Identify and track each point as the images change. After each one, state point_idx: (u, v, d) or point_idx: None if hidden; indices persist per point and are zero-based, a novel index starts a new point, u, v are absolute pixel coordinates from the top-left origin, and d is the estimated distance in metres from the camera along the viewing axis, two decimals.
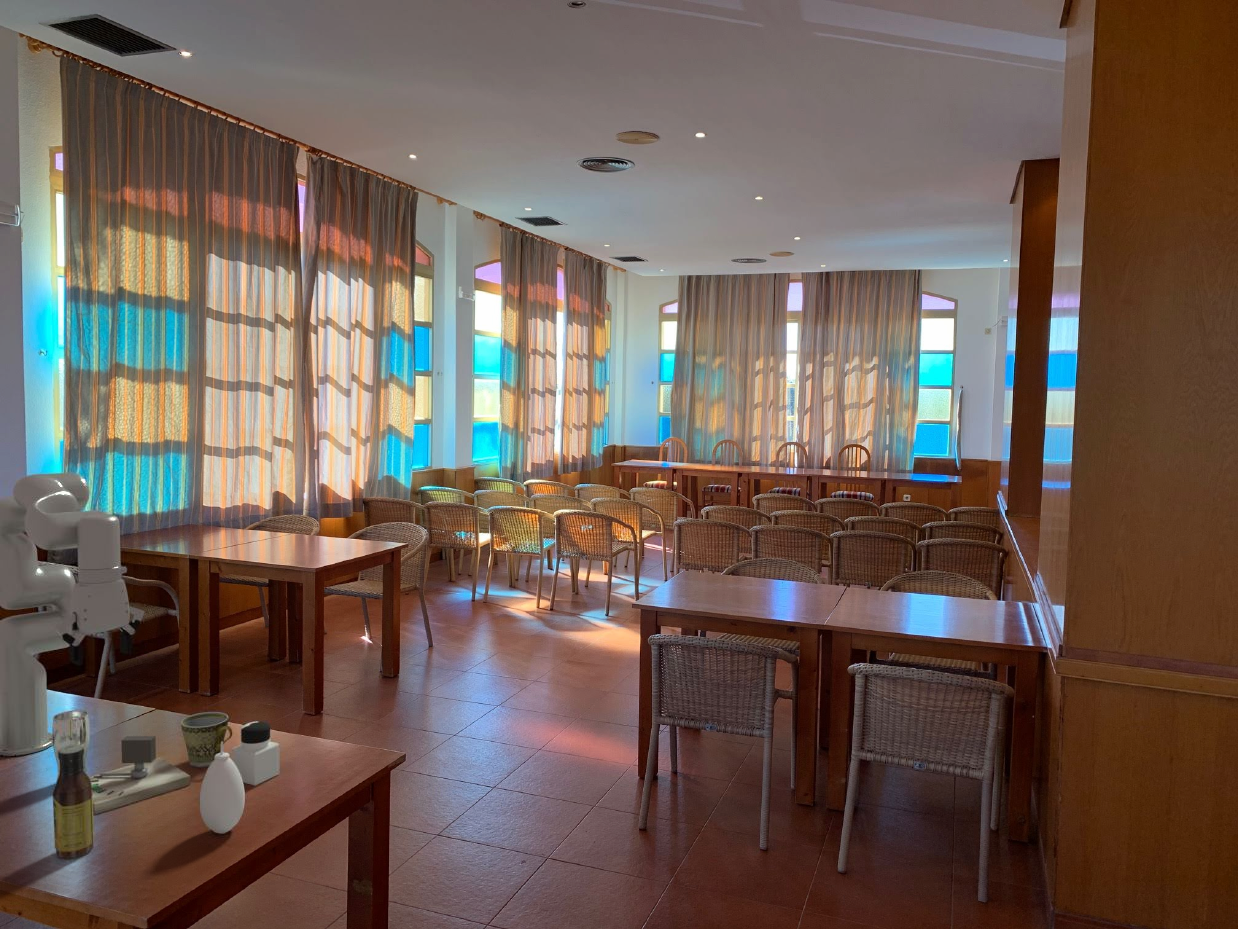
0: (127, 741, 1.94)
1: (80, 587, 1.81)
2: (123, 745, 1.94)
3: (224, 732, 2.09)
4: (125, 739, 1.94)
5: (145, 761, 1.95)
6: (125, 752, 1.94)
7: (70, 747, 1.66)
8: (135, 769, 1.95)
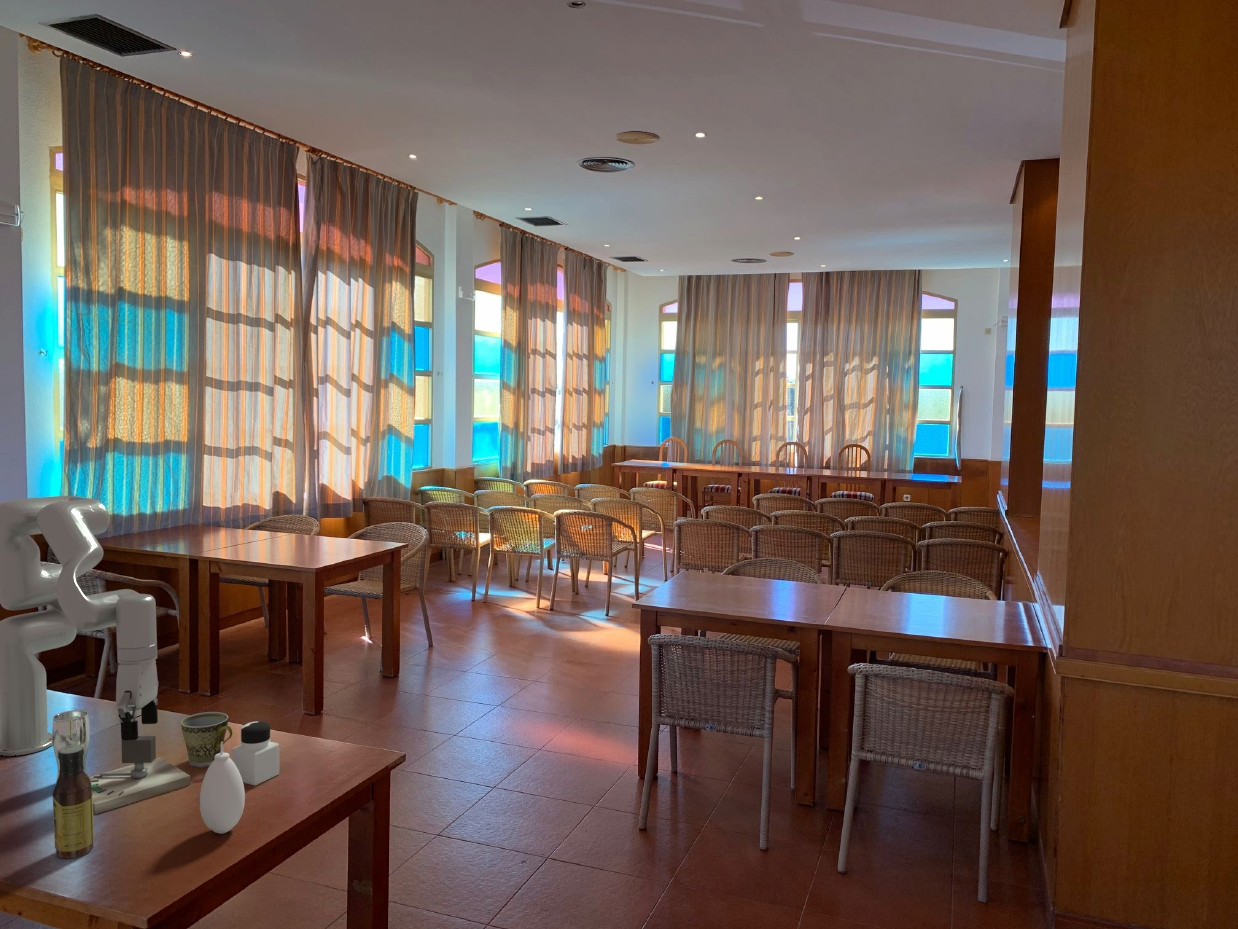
0: (127, 741, 1.94)
1: (133, 666, 1.90)
2: (123, 745, 1.94)
3: (224, 732, 2.09)
4: None
5: (145, 761, 1.95)
6: (125, 752, 1.94)
7: (70, 747, 1.66)
8: (135, 769, 1.95)
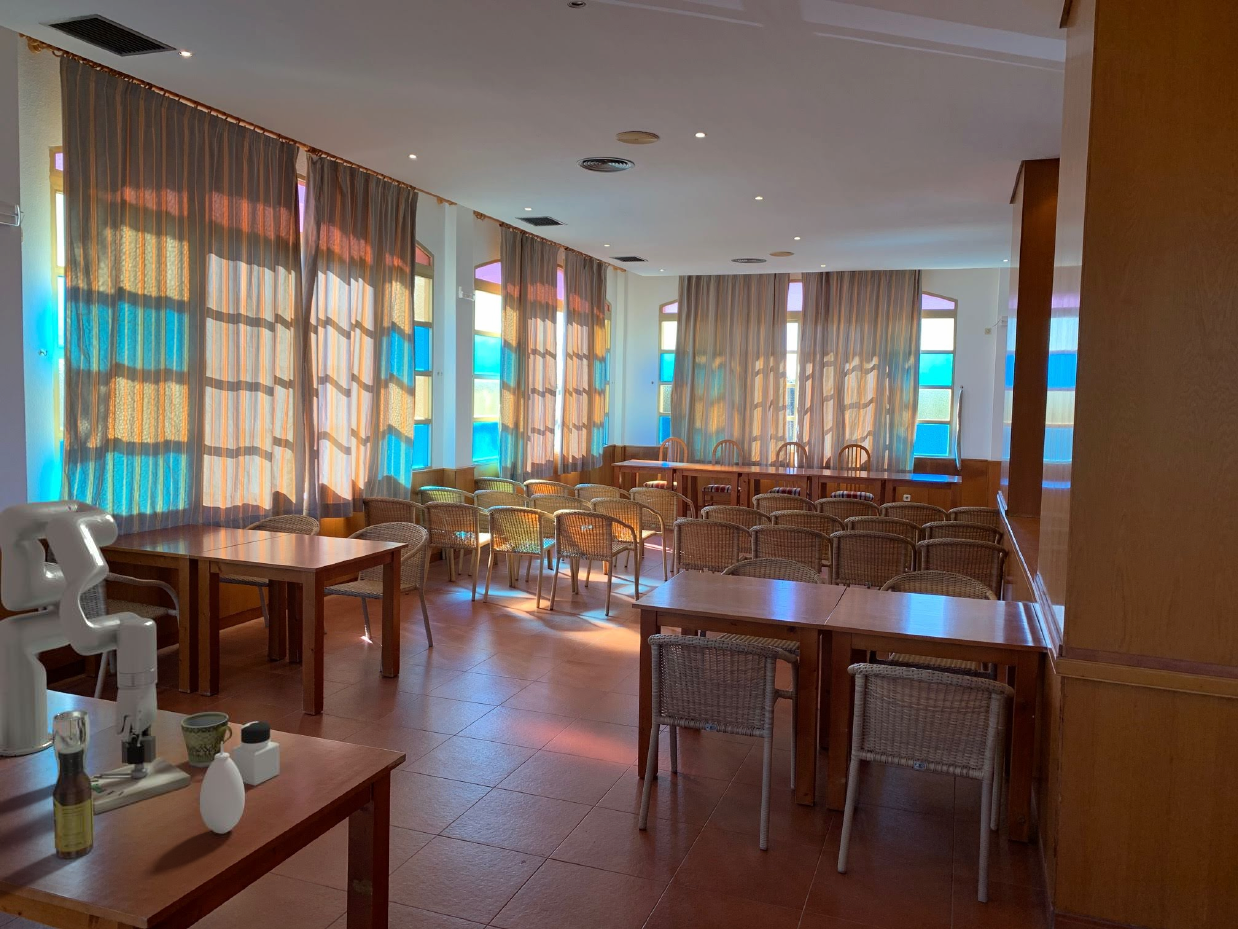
0: None
1: (133, 690, 1.90)
2: (123, 745, 1.94)
3: (224, 732, 2.09)
4: None
5: (145, 761, 1.95)
6: (125, 752, 1.94)
7: (70, 747, 1.66)
8: (135, 769, 1.95)
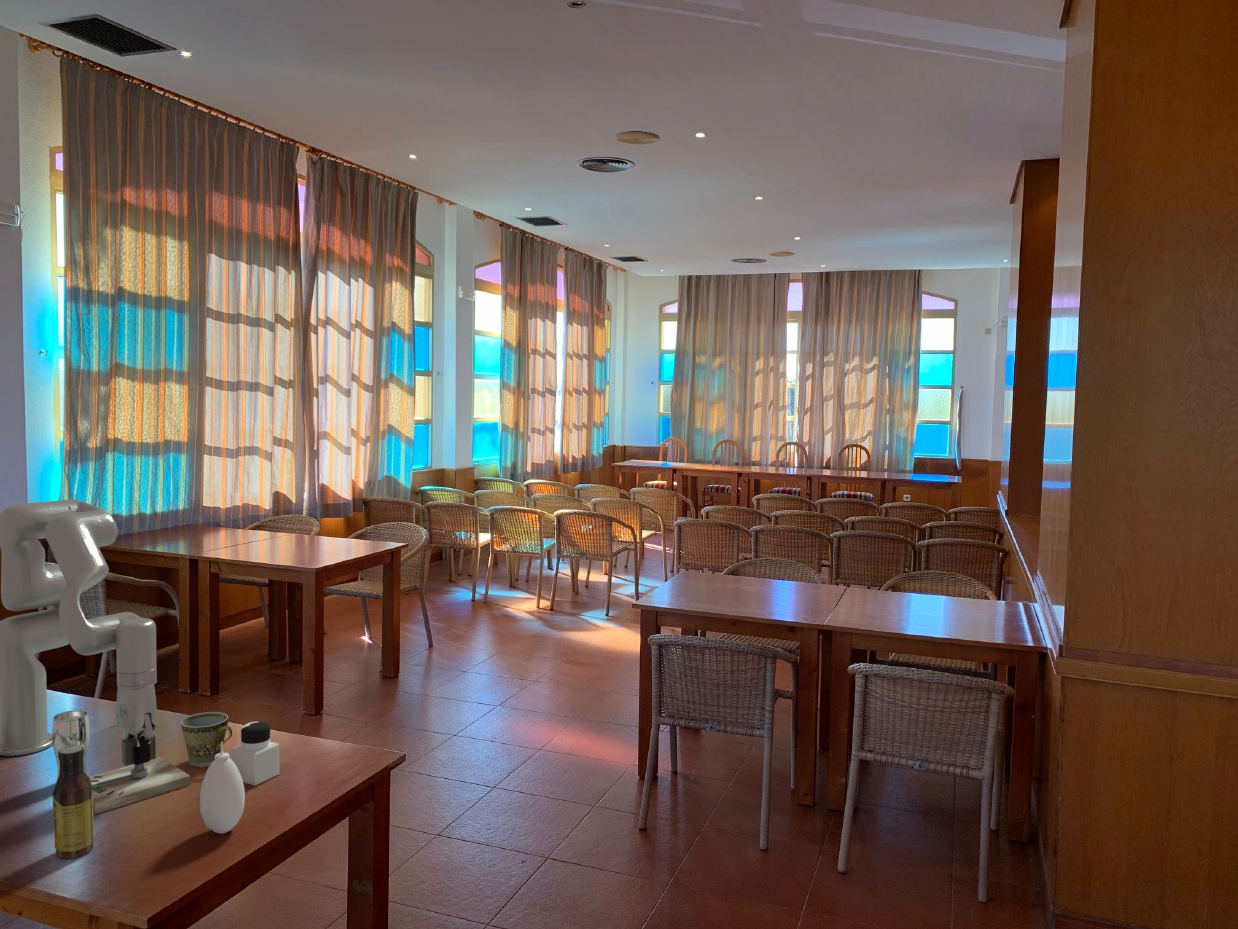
0: (131, 742, 1.93)
1: (150, 687, 1.92)
2: (126, 747, 1.93)
3: (224, 732, 2.09)
4: (127, 741, 1.93)
5: (150, 758, 1.96)
6: (129, 754, 1.93)
7: (70, 747, 1.66)
8: (137, 769, 1.95)
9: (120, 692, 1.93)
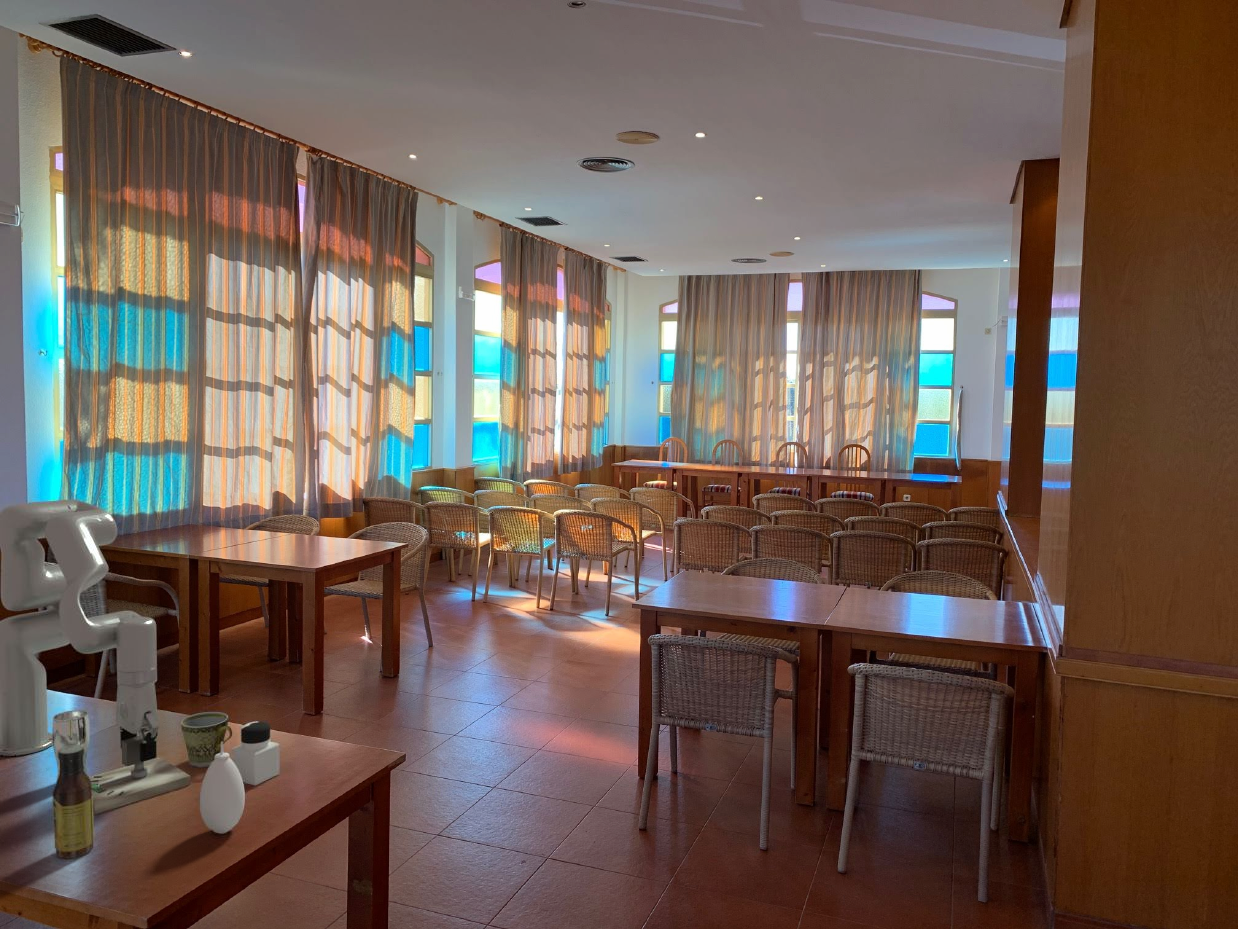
0: (132, 743, 1.93)
1: (150, 686, 1.92)
2: (128, 748, 1.92)
3: (224, 732, 2.09)
4: (128, 742, 1.93)
5: None
6: (130, 754, 1.93)
7: (70, 747, 1.66)
8: (138, 769, 1.95)
9: (120, 690, 1.94)
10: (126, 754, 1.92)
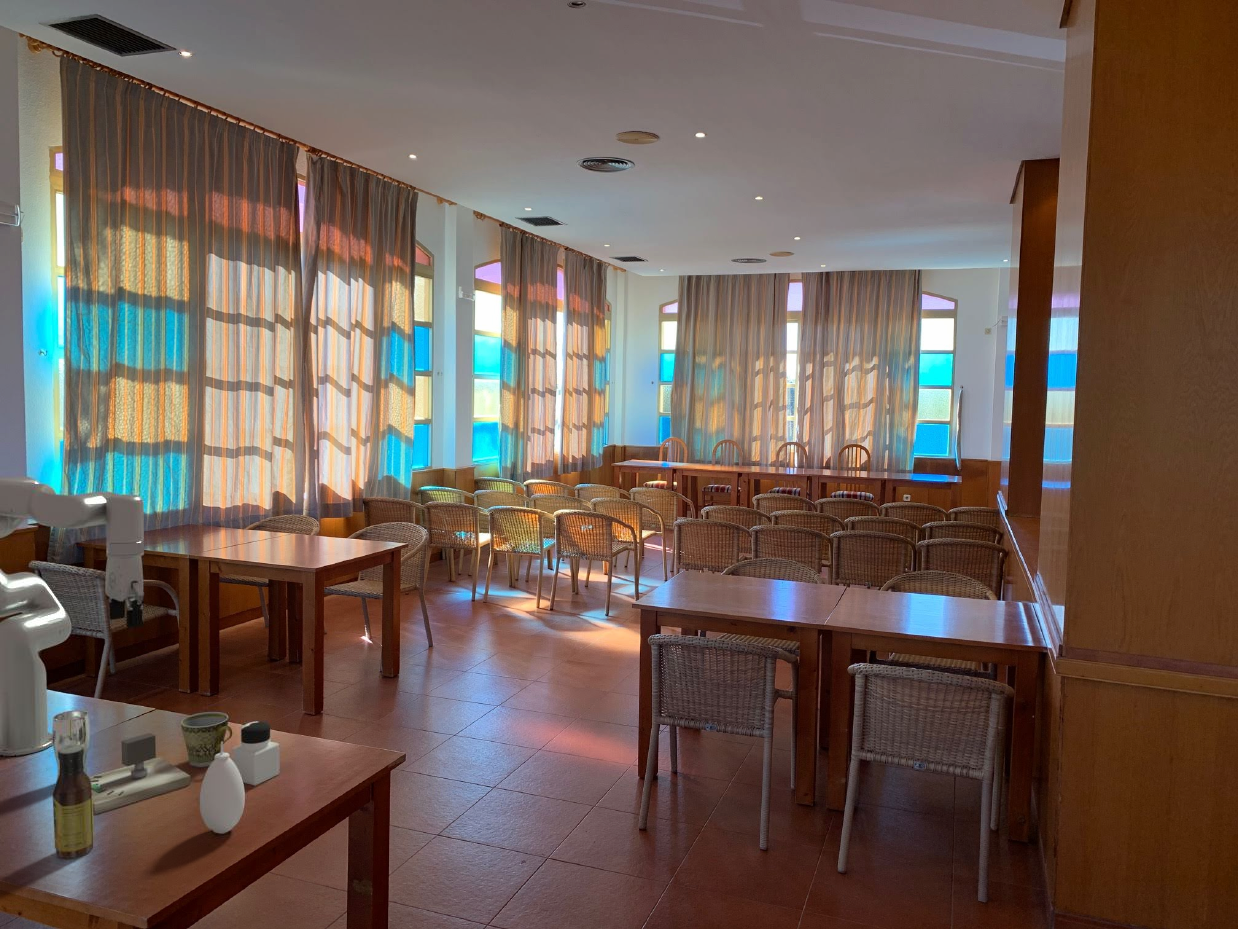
0: (132, 743, 1.93)
1: (137, 558, 2.05)
2: (128, 748, 1.92)
3: (224, 732, 2.09)
4: (128, 742, 1.93)
5: (150, 758, 1.96)
6: (131, 754, 1.93)
7: (70, 747, 1.66)
8: (138, 769, 1.95)
9: (109, 562, 2.07)
10: (126, 754, 1.92)
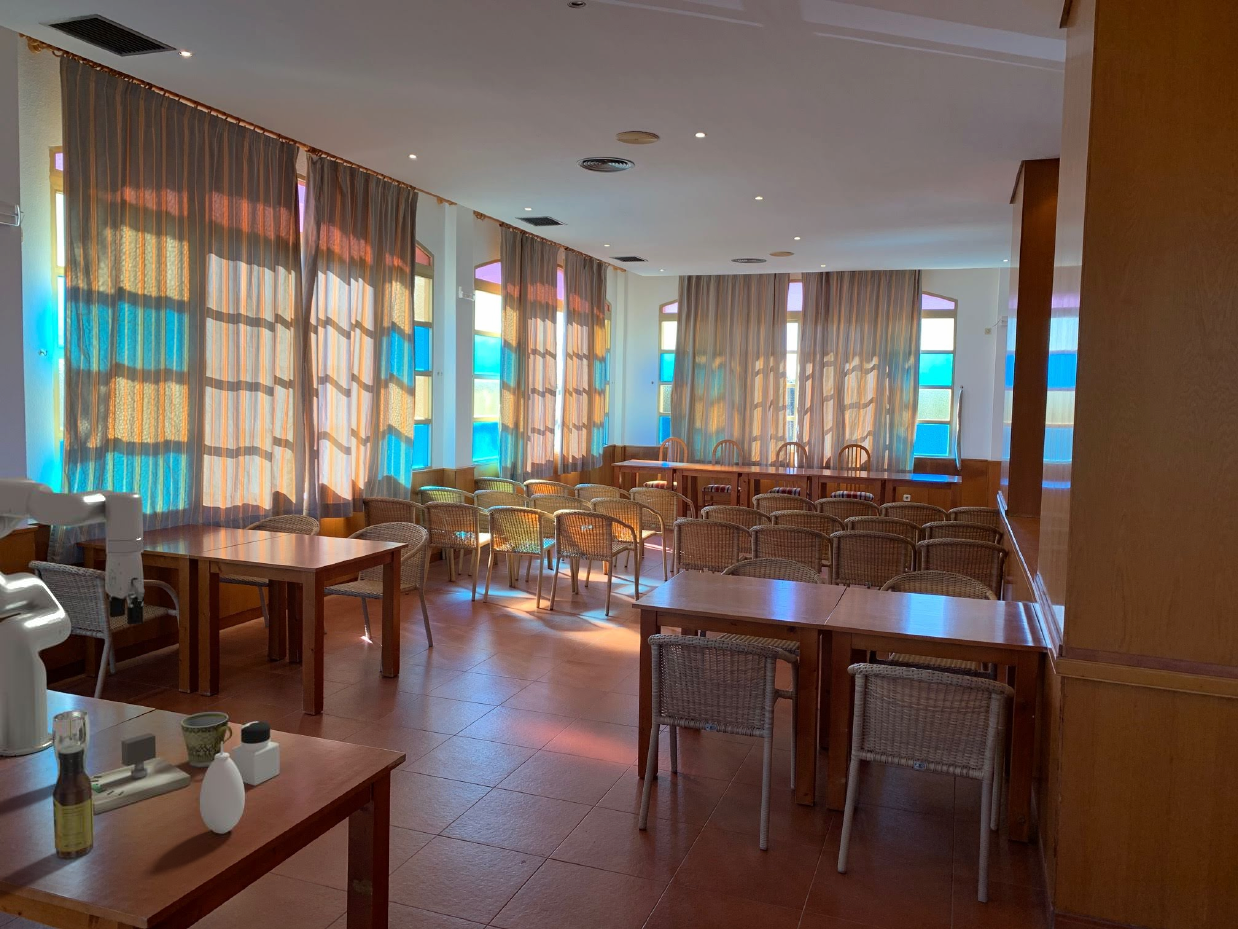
0: (133, 743, 1.93)
1: (137, 555, 2.06)
2: (128, 748, 1.92)
3: (224, 732, 2.09)
4: (128, 742, 1.93)
5: (150, 758, 1.96)
6: (131, 754, 1.93)
7: (70, 747, 1.66)
8: (138, 769, 1.95)
9: (109, 560, 2.07)
10: (126, 754, 1.92)
